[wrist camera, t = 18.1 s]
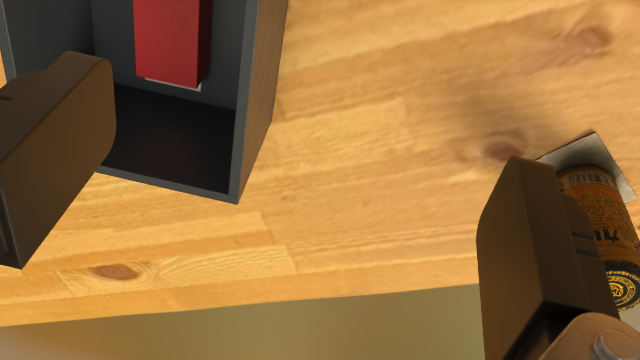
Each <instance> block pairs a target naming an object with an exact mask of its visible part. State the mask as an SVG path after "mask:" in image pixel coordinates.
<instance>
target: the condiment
mask: <svg viewBox="0 0 640 360" xmlns="http://www.w3.org/2000/svg"><path fill="white" fill-rule="evenodd" d="M536 161H538V162H543V163H547V164H551V165H553V167H554V169H555V173H556V177H557V180H558V184H559V188H560V192H561V193H562V194H567V195H571V196H573V197H574V198H575V199H576V201H577V202H578V203H579V205H580V206H581V207H582V208H583V210H584V211H585V212H586V214H587V215H588V216H589V218H590V222H591V225H592V228H593V231H594V235H595V242H597V244H598V248H599V251H600V254H601V255H600V259H602V261H603V264H604V267H605V271H606V274H607V277H608V280H609V284H610V287H611V290H612V293H613V297H614V300H615V303H616V306H617V310H618V312H620V311H622V310H626V309H628V308H633V307H634V306H635V305H636V304H638V303H639V302H640V241H639V238H638V236H637V233H636V231H635V228H634V226H633V224H632V221H631V219H630V216H629V214H628V211H627V209H626V206H625V204H626V203H628V202H631V201H633V200H635V199H638V197H637V195H636V194H635V192H634V191H633V189H632V187H631V186H630V184H629V183H628V181H627V180H626V178H625V176H624V175H623V173H622V172H621V170H620V169H619V167H618V166H617V164H616V163H615V161H614V160H613V158H612V157H611V155H610V153H609V152H608V150H607V149H606V147H605V146H604V144H603V143H602V141H601V140H600V138H599V137H598V135H597V133H594V134H592V135H589V136H587V137H584V138H582V139H580V140H577V141H575V142H573V143H571V144H569V145H566V146H564V147H562V148H560V149H558V150H556V151H554V152H552V153H550V154H546V155H545V156H543V157H541V158H540V159H538V160H536Z"/></svg>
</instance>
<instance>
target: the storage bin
mask: <svg viewBox="0 0 640 360" xmlns="http://www.w3.org/2000/svg"><path fill="white" fill-rule="evenodd" d="M287 7H288V0H213V5H212V26H211V48H210V69H209V71H208V72H207V74H206V75H205V77H204V78H203V89H202V90H201V92H199V91H195V90H190V89H186V88H181V87H177V86H172V85H168V84H163V83H159V82H154V81H150V80H145V78H144V77H140V76H136V57H135V35H134V12H133V0H0V51H1V56H2V61H3V66H4V71H5V75H6V80H7V83H8V82H9V81H10V80H11V79H14V78H16V77H19V76H21V75H24V74H26V73H28V72H31V71H33V70H36V69H39V70H43V71H44V70H45V69H46V68H48V67H49V66H50V65H51V64H52V63H53V62H54V61H55V60H56V59H58V58H59V57H60V56H61V55H62V54H63V53H64V52H66V51H74V52H78V53H82V54H86V55H91V56H95V57H99V58H104V59H107V60H108V61H109V62H110V64H111V67H112V73H113V87H114V101H115V115H116V133H115V138H114V142H113V145H112V147H111V150H110V152H109V153H108V155H107V156H106V158H105V159H104V160H103V162H102V163H101V164H100V166H99V167H98V168H97V170H96V171H95V172H97V173H101V174H106V175H110V176H114V177H119V178H123V179H127V180H132V181H136V182H140V183H145V184H149V185H153V186H158V187H162V188H166V189H171V190H175V191H179V192H184V193H188V194H193V195H197V196H201V197H206V198H210V199H214V200H219V201H223V202H227V203H232V204H236V205H238V203H239V200H240V198H241V195H242V193H243V190H244V188H245V185H246V183H247V181H248V178H249V176H250V173H251V171H252V168H253V166H254V163H255V161H256V158H257V156H258V153H259V151H260V148H261V146H262V143H263V141H264V138H265V136H266V133H267V131H268V128H269V126H270V124H271V121H272V114H273V107H274V100H275V93H276V86H277V78H278V71H279V64H280V57H281V50H282V42H283V35H284V28H285V21H286V14H287Z"/></svg>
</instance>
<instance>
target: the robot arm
mask: <svg viewBox="0 0 640 360" xmlns="http://www.w3.org/2000/svg"><path fill="white" fill-rule="evenodd" d="M115 133H116V115H115V101H114V87H113V73H112V67H111V64H110V62H109V61H108V60H107V59H104V58H99V57H95V56H91V55H86V54H82V53H78V52H74V51H66V52H64V53H63V54H62V55H61V56H60V57H59V58H58V59H56V60H55V61H54V62H53V63H52V64H51V65H50V66H49V67H48V68H46V69H45V70H44V71H43V70H39V69H36V70H33V71H31V72H28V73H26V74H24V75H21V76H19V77H16V78H14V79H11V80H10V81H9V82H8V83H7V84H6V85H4V86H3V87H2V88H1V89H0V264H1V265H5V266H9V267H13V268H17V269H21V270H22V269H23V267H24V266H25V265H26V263H27V262H28V261H29V259H30V258H31V257H32V255H33V254H34V253H35V251H36V250H37V249H38V247H39V246H40V245H41V243H42V242H43V241H44V239H45V238H46V237H47V235H48V234H49V232H50V231H51V230H52V228H53V227H54V226H55V224H56V223H57V222H58V220H59V219H60V218H61V216H62V215H63V214H64V212H65V211H66V210H67V208H68V207H69V206H70V204H71V203H72V202H73V200H74V199H75V198H76V196H77V195H78V194H79V192H80V191H81V190H82V188H83V187H84V186H85V184H86V183H87V182H88V180H89V179H90V178H91V176H92V175H93V174H94V172H95V171H96V170H97V168H98V167H99V166H100V164H101V163H102V162H103V160H104V159H105V158H106V156H107V155H108V153H109V152H110V150H111V147H112V145H113V142H114V138H115ZM476 247H477V260H478V273H479V286H480V297H481V298H480V299H481V312H482V323H483V337H484V350H485V360H640V333H639V332H638V331H636V330H635V329H634V328H632V327H631V326H630V325H628V324H626V323H625V322H623V321H621V320H620V316H619V313H618V310H617V306H616V303H615V300H614V297H613V293H612V290H611V287H610V284H609V280H608V277H607V274H606V271H605V267H604V264H603V261H602V259H600V255H601V254H600V251H599V248H598V244H597V242H595V235H594V231H593V228H592V225H591V222H590V218H589V216H588V215H587V214H586V212H585V211H584V210H583V208H582V207H581V206H580V205H579V203H578V202H577V201H576V199H575V198H574V197H573V196H571V195H567V194H562V193H561V192H560V188H559V184H558V180H557V177H556V173H555V169H554V167H553V165H551V164H547V163H543V162H538V161H534V160H530V159H526V158H521V157H517V156H512V157H511V158H510V159H509V160H508V162H507V163H506V165H505V167H504V169H503V171H502V173H501V175H500V177H499V179H498V181H497V183H496V185H495V187H494V189H493V191H492V193H491V195H490V197H489V199H488V201H487V204H486V206H485V208H484V210H483V212H482V214H481V217H480V220H479V224H478V228H477V235H476Z"/></svg>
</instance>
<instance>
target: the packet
mask: <svg viewBox="0 0 640 360" xmlns="http://www.w3.org/2000/svg"><path fill="white" fill-rule="evenodd" d="M212 5H213V0H133V12H134V35H135V57H136V76H140V77H144V78H145V80H150V81H154V82H159V83H163V84H168V85H172V86H177V87H181V88H186V89H190V90H195V91H199V92H201V90H202V89H203V78H204V77H205V75H206V74H207V72H208V71H209V69H210V48H211V26H212Z"/></svg>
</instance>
